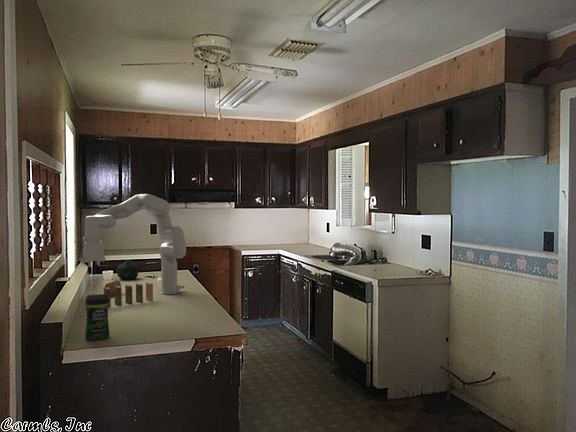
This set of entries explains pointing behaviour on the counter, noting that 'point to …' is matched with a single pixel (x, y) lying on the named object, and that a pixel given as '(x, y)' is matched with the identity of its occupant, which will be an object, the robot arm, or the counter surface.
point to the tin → (113, 286)
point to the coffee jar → (97, 317)
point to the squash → (127, 270)
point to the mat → (131, 304)
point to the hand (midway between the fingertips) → (93, 273)
